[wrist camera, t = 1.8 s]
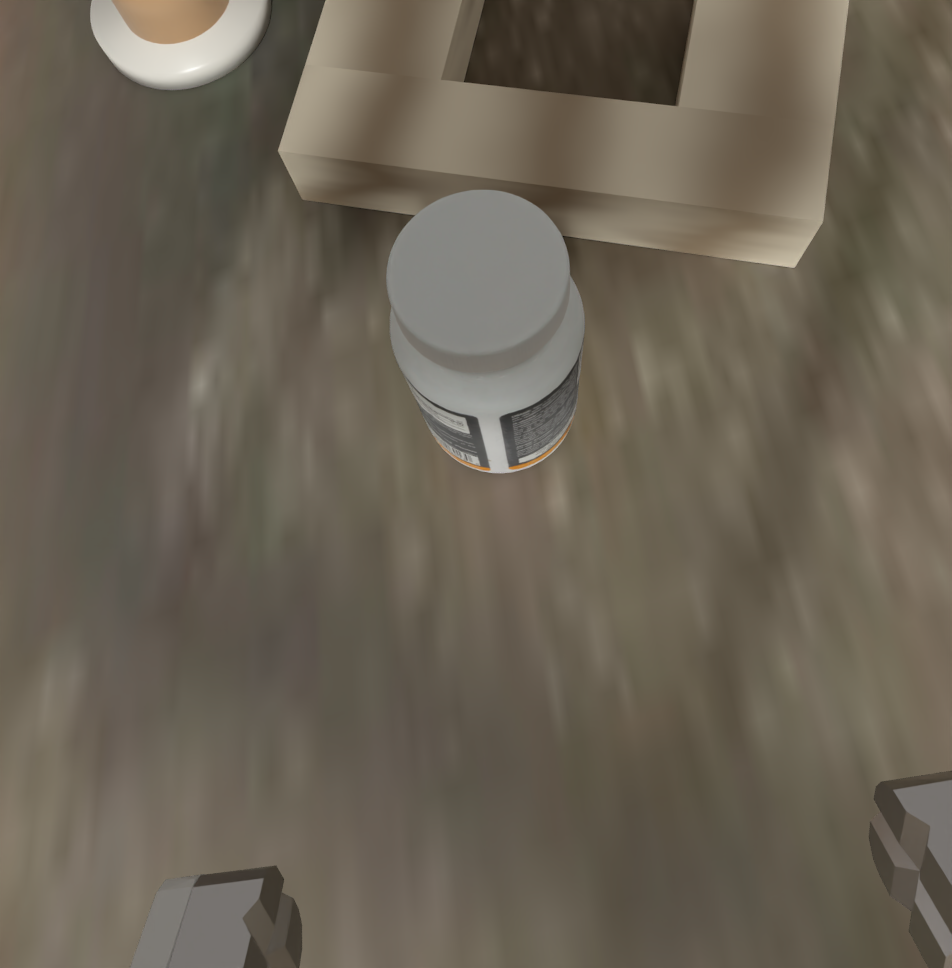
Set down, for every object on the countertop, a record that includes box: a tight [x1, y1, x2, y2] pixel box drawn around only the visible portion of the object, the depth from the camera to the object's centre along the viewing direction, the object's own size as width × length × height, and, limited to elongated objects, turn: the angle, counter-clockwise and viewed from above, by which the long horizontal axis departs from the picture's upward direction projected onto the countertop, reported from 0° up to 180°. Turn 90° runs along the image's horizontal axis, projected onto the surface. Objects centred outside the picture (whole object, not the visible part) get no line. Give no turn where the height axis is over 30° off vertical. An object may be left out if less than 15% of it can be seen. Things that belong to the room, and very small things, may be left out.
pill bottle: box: [386, 190, 585, 473], centre depth 23 cm, size 6×6×10 cm
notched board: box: [278, 0, 849, 268], centre depth 30 cm, size 20×13×3 cm, turn 79°
